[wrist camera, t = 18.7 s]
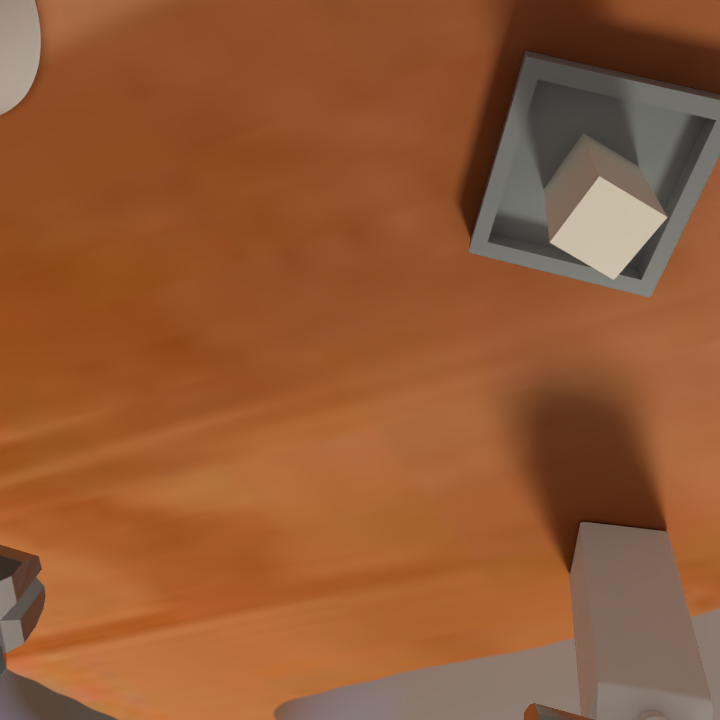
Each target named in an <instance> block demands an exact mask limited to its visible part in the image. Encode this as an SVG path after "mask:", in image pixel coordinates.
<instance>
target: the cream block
mask: <svg viewBox="0 0 720 720" xmlns="http://www.w3.org/2000/svg"><path fill="white" fill-rule="evenodd" d="M544 198H545V207H546V215H547V224H548V232H549V241H550V243H551V244H553V245H555V246H557V247H558V248H560V249H562V250H563V251H565V252H567V253H569V254H570V255H572V256H574V257H575V258H577V259H579V260H581V261H582V262H584V263H586V264H587V265H589V266H591V267H593V268H594V269H596V270H598V271H599V272H601V273H603V274H605V275H606V276H608V277H610V278H611V279H613V280H614V279H615V278H616V277H617V276H618V275H619V274H620V272H621V271H622V270H623V269H624V268H625V267H626V265H627V264H628V263H629V262H630V261H631V260H632V258H633V257H634V256H635V255H636V254H637V253H638V251H639V250H640V249H641V248H642V247H643V245H644V244H645V243H646V242H647V241H648V240H649V238H650V237H651V236H652V235H653V234H654V233H655V231H656V230H657V229H658V228H659V227H660V226H661V224H662V223H663V222H664V221H665V220H666V219H667V215H666V213H665V212H664V210H663V208H662V206H661V205H660V203H659V201H658V199H657V198H656V196H655V194H654V192H653V190H652V189H651V187H650V185H649V183H648V182H647V180H646V178H645V176H644V175H643V173H642V171H641V169H640V167H639V166H637V165H636V164H634V163H632V162H631V161H629V160H628V159H626V158H624V157H623V156H621V155H619V154H618V153H616V152H614V151H613V150H611V149H609V148H608V147H606V146H604V145H603V144H601V143H599V142H598V141H596V140H595V139H593V138H591V137H590V136H588V135H586V134H585V133H583V134H582V136H581V137H580V138H579V140H578V141H577V143H576V144H575V145H574V147H573V148H572V150H571V151H570V153H569V154H568V155H567V157H566V158H565V160H564V161H563V162H562V164H561V165H560V167H559V168H558V169H557V171H556V172H555V174H554V175H553V177H552V178H551V179H550V181H549V182H548V184H547V185H546V186H545V188H544Z"/></svg>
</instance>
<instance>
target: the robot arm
mask: <svg viewBox="0 0 720 720" xmlns="http://www.w3.org/2000/svg"><path fill="white" fill-rule="evenodd" d="M40 49H41V34H40V23H39V17H38V11H37V7H36V3H35V0H0V115H1V114H3V113H5V112H7V111H9V110H10V109H12V108H13V107H15V106H16V105H17V104H18V103H19V102H20V101H21V100H22V99H23V98H24V96H25V95H26V94H27V92H28V91H29V89H30V87H31V85H32V83H33V81H34V78H35V76H36V72H37V69H38V64H39V59H40ZM41 570H42V568H41V563H40V559H39V556H36V555H33V554H29V553H26V552H23V551H19V550H16V549H13V548H9V547H6V546H2V545H0V677H1V675H2V674H3V672H4V671H5V670H6V653H7V652H9V651H11V650H13V649H15V648H16V647H18V646H20V645H22V644H24V643H25V642H26V640H27V639H28V637H29V636H30V634H31V633H32V631H33V630H34V628H35V627H36V625H37V622H38V620H39V618H40V616H41V613H42V611H43V609H44V603H45V597H46V596H45V588H44V586H43V584H42V583H41V582H40V581H39V580H38V579H37V578H36V576H37V575H38V574H39V572H40V571H41ZM524 720H594V719H590V718H586V717H583V716H579V715H576V714H572V713H568V712H565V711H561V710H557V709H554V708H550V707H547V706H543V705H539V704H536V703H533V704H531V705H529V706H528V708H527V710H526V711H525V713H524Z"/></svg>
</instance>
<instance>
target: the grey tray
mask: <svg viewBox="0 0 720 720" xmlns="http://www.w3.org/2000/svg"><path fill="white" fill-rule="evenodd" d="M583 133H585V134H586V135H588V136H590V137H591V138H593V139H595V140H596V141H598V142H599V143H601V144H603V145H604V146H606V147H608V148H609V149H611V150H613V151H614V152H616V153H618V154H619V155H621V156H623V157H624V158H626V159H628V160H629V161H631V162H632V163H634V164H636V165H637V166H639V167H640V169H641V171H642V173H643V175H644V176H645V178H646V180H647V182H648V183H649V185H650V187H651V189H652V190H653V192H654V194H655V196H656V198H657V199H658V201H659V203H660V205H661V206H662V208H663V210H664V212H665V213H666V215H667V219H666V220H665V221H664V222H663V223H662V224H661V226H660V227H659V228H658V229H657V230H656V231H655V233H654V234H653V235H652V236H651V237H650V238H649V240H648V241H647V242H646V243H645V244H644V245H643V247H642V248H641V249H640V250H639V251H638V253H637V254H636V255H635V256H634V257H633V258H632V260H631V261H630V262H629V263H628V264H627V265H626V267H625V268H624V269H623V270H622V271H621V272H620V274H619V275H618V276H617V277H616V278H615V279H614V280H613V279H611V278H610V277H608V276H606V275H605V274H603V273H601V272H599V271H598V270H596V269H594V268H593V267H591V266H589V265H587V264H586V263H584V262H582V261H581V260H579V259H577V258H575V257H574V256H572V255H570V254H569V253H567V252H565V251H563V250H562V249H560V248H558V247H557V246H555V245H553V244H551V243H550V241H549V232H548V224H547V215H546V207H545V198H544V188H545V186H546V185H547V184H548V182H549V181H550V179H551V178H552V177H553V175H554V174H555V172H556V171H557V169H558V168H559V167H560V165H561V164H562V162H563V161H564V160H565V158H566V157H567V155H568V154H569V153H570V151H571V150H572V148H573V147H574V145H575V144H576V143H577V141H578V140H579V138H580V137H581V136H582V134H583ZM719 155H720V94H716V93H712V92H708V91H703V90H699V89H694V88H690V87H685V86H681V85H676V84H672V83H668V82H663V81H659V80H654V79H650V78H645V77H641V76H636V75H632V74H628V73H623V72H619V71H614V70H610V69H605V68H601V67H596V66H592V65H588V64H583V63H579V62H574V61H570V60H565V59H561V58H556V57H552V56H548V55H543V54H539V53H534V52H530V51H525V54H524V57H523V60H522V64H521V67H520V71H519V74H518V78H517V81H516V84H515V88H514V91H513V95H512V98H511V101H510V105H509V108H508V112H507V115H506V119H505V122H504V125H503V129H502V132H501V136H500V139H499V142H498V146H497V149H496V153H495V156H494V160H493V163H492V166H491V170H490V173H489V177H488V180H487V184H486V187H485V190H484V194H483V197H482V201H481V204H480V207H479V211H478V214H477V218H476V221H475V225H474V228H473V231H472V235H471V238H470V245H469V251H468V252H469V253H473V254H477V255H481V256H485V257H489V258H493V259H497V260H501V261H505V262H509V263H513V264H517V265H521V266H525V267H529V268H533V269H537V270H541V271H545V272H549V273H553V274H557V275H561V276H565V277H569V278H574V279H578V280H582V281H586V282H590V283H594V284H598V285H602V286H606V287H610V288H614V289H618V290H622V291H626V292H630V293H634V294H638V295H642V296H646V297H651V295H652V293H653V291H654V289H655V287H656V285H657V283H658V281H659V279H660V277H661V275H662V273H663V271H664V269H665V267H666V264H667V262H668V260H669V258H670V256H671V254H672V252H673V250H674V248H675V246H676V244H677V242H678V240H679V238H680V236H681V234H682V232H683V229H684V227H685V225H686V223H687V221H688V219H689V217H690V215H691V213H692V211H693V209H694V207H695V205H696V203H697V201H698V199H699V197H700V194H701V192H702V190H703V188H704V186H705V184H706V182H707V180H708V178H709V176H710V174H711V172H712V170H713V168H714V166H715V164H716V162H717V159H718V157H719Z"/></svg>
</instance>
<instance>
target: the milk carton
mask: <svg viewBox="0 0 720 720" xmlns="http://www.w3.org/2000/svg"><path fill="white" fill-rule="evenodd" d="M570 589H571V601H572V612H573V624H574V636H575V647H576V659H577V671H578V682H579V693H580V706H581V716H583V717H586V718H590V719H594V720H712V700H711V696H710V691H709V688H708V683H707V680H706V676H705V672H704V668H703V664H702V661H701V657H700V653H699V649H698V645H697V642H696V638H695V633H694V630H693V626H692V622H691V618H690V614H689V610H688V607H687V603H686V599H685V595H684V591H683V587H682V584H681V580H680V576H679V572H678V568H677V564H676V561H675V557H674V553H673V549H672V545H671V541H670V537H669V534H668V532H666V531H659V530H651V529H642V528H633V527H625V526H616V525H607V524H599V523H590V522H581V523H580V527H579V532H578V537H577V542H576V547H575V552H574V557H573V562H572V567H571V572H570Z"/></svg>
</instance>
